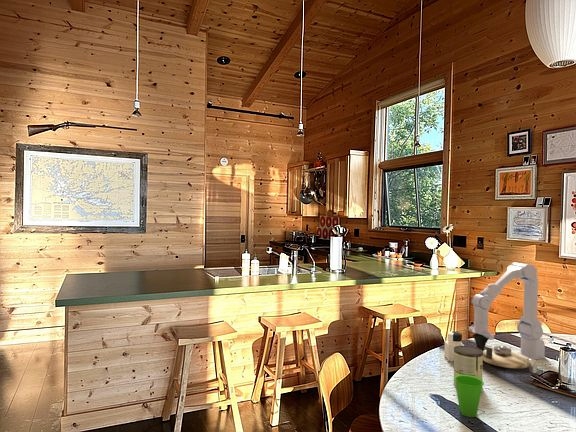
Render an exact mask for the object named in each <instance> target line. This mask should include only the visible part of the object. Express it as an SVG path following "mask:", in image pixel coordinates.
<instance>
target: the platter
mask: <svg viewBox="0 0 576 432" xmlns="http://www.w3.org/2000/svg"><path fill="white" fill-rule="evenodd" d="M519 353H520V352H514V351H511V356H501V355H497V354H495V353H494V348H492V347H486V349H484V351H483V361H484V362H485V363H487V364H490V365H493V366H497V367H501V368H507V369H526V368H527V369H528V368H529V366H528V365H527V362H526V361H524V360H522V359H525V360H527V359H529V358H528V357H526V356H524V355H521V354H519Z"/></svg>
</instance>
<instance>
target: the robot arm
mask: <svg viewBox="0 0 576 432" xmlns="http://www.w3.org/2000/svg"><path fill="white" fill-rule="evenodd" d="M537 271H538V269H537V268H536V267H535V266H534V265H533V264H530V263H521V262H518V261H517V262H516V261H515V262H512V263H511V264H510V265H508V266H507V269H506V271H505V272H504V273H503V274H502V275H501V276H500V277H499V278H498V279H497V280H496V281H495V282H494V283H488V284H487V286H486V287H485V288H484V289H483V290H481V291H480V292H479V293H478V294H475V295H474V296H472V297H473V298H472V299H471V303H472V305H473V310H474V311H473V313H474V314H473V315H474V317H473V318H474V319H473V321H474V323H473V325H474V326H468V331H469V332H471V333H473V334H472V337H473V339H474V342H475V345H476V348H479V349H481V350H482V351H484V350H485V347H486V345H487V343H488V341H489V340H490V341H491V340H492V341H494V340H495V335H494V334H492V333H491V332H490V331H489V308H490V307H491V306H492V303H493V302H494V300H495V299H496V298H497V297H498V296H499V295H500V294H501V293H502V289H503V288H504V287H505V286H506V285H508V284H509V283H510V282H512V281H513V280H514V279H520V280H521V282H523V283H524V286H523V287H524V288H523V289H524V290H523V292H524V293H523V310H522V311H523V312H522V313H523V315H522V316H521V317H519V320H518V324H517V329H516V330H517V332H518V333H519V336H520V352H518V353H519V354H521V355H524V356H526V357H528V358H529V359H534V360H543V359H547V358H546V356H545V353H546V352H545V351H546V350H545V348H546V346H545V341H544V339H543V338H542V337H543V336H544V335H543V334H544V330H543V327H542V322H541V321H540V320H539V318H538V296H539V293H538V292H539V278H538V275H537V273H538V272H537Z"/></svg>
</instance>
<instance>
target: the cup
mask: <svg viewBox="0 0 576 432" xmlns="http://www.w3.org/2000/svg"><path fill="white" fill-rule="evenodd" d="M454 380H455V381H456V387H455V389H456V393H457V395H456V396H457V400H458V401H457V402H458V408H459V413H460V414H461V415H462V416H465V417H470V418H475V417H476V416H477V414H478V411H479V406H480V401H481V396H482V390H483V389H482V388H483V386H484V385H485V382H484V380H483V379H482V380H481V379H480V378H477V377H474V376H470V375H457V376H455V377H454V376H453V381H454Z"/></svg>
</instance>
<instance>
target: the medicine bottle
mask: <svg viewBox="0 0 576 432" xmlns="http://www.w3.org/2000/svg"><path fill="white" fill-rule="evenodd" d="M456 346H465V345H464V344H463V334H462V333H460V332H458V331H449V332H447V340H444V355H443V356H444V357H445V358H446V359H447V361H448V362H454V347H456Z"/></svg>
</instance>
